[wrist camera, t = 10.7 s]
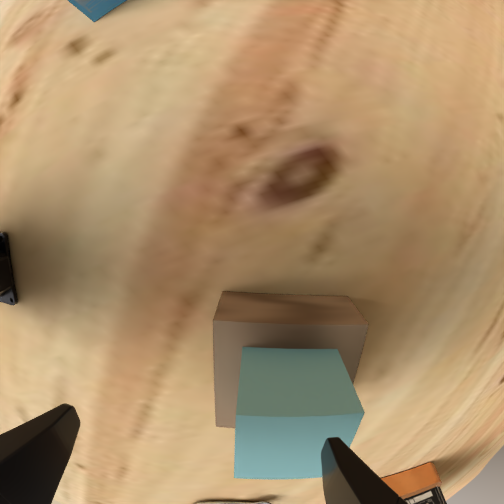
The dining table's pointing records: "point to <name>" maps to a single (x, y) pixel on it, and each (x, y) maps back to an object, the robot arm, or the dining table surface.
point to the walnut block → (279, 335)
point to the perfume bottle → (96, 7)
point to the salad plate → (233, 503)
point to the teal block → (291, 411)
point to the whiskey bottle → (417, 485)
